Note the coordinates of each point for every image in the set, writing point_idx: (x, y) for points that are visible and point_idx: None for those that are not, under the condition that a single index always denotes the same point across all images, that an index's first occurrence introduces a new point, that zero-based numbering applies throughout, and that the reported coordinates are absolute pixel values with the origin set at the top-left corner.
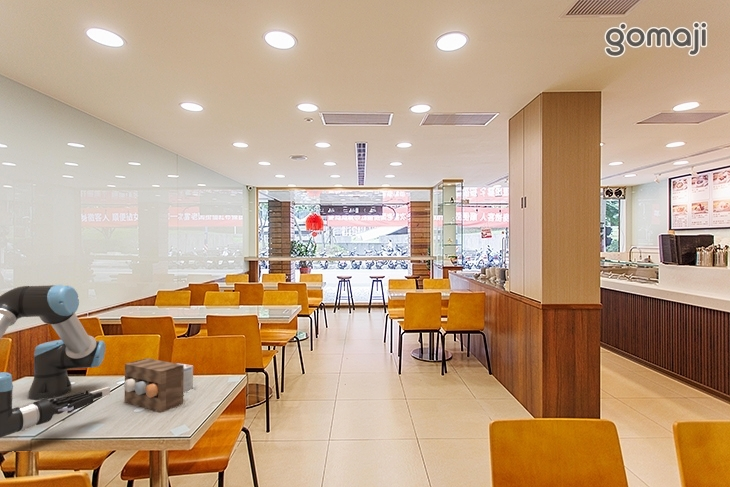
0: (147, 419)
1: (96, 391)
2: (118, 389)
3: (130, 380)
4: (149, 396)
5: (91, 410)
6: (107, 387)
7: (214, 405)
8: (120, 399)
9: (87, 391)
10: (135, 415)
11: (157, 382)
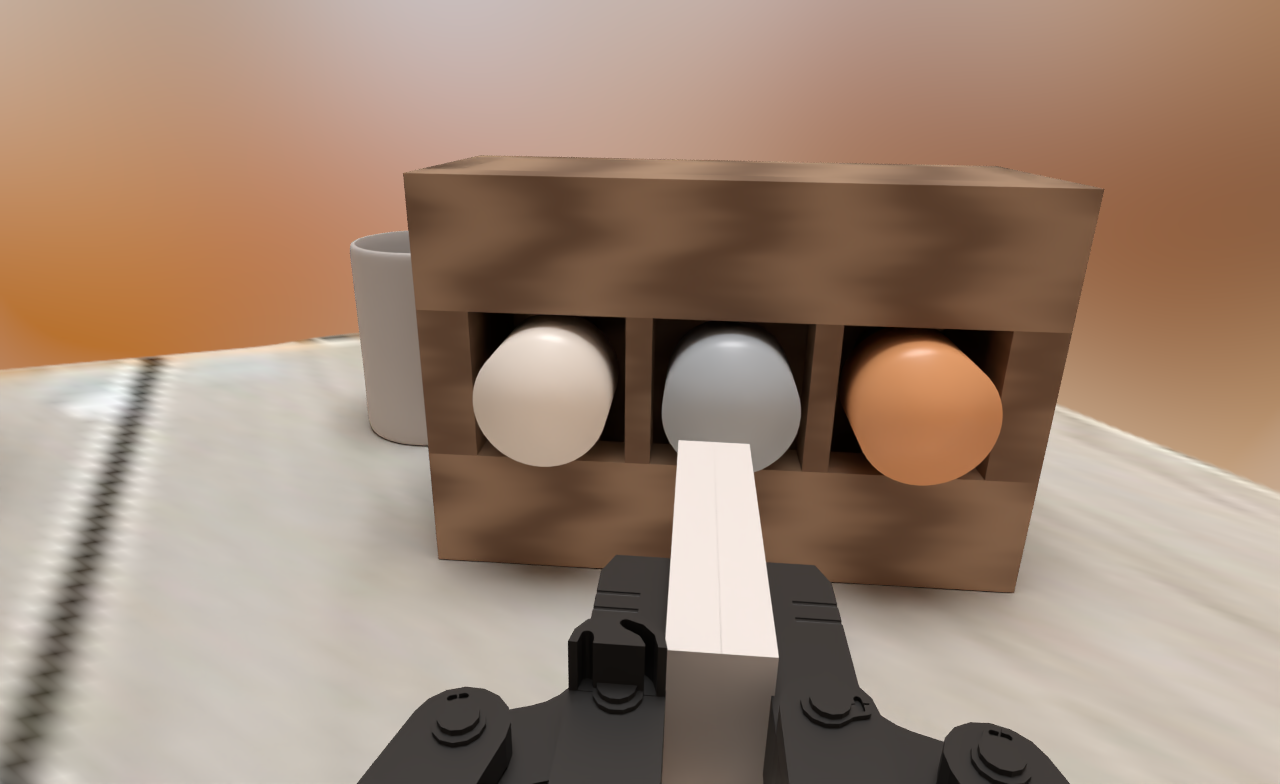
0: (1135, 718)
1: (764, 581)
2: (165, 458)
3: (569, 344)
4: (924, 474)
5: (215, 770)
6: (716, 454)
7: (1158, 456)
8: (348, 541)
9: (661, 651)
10: (893, 696)
11: (1001, 321)
